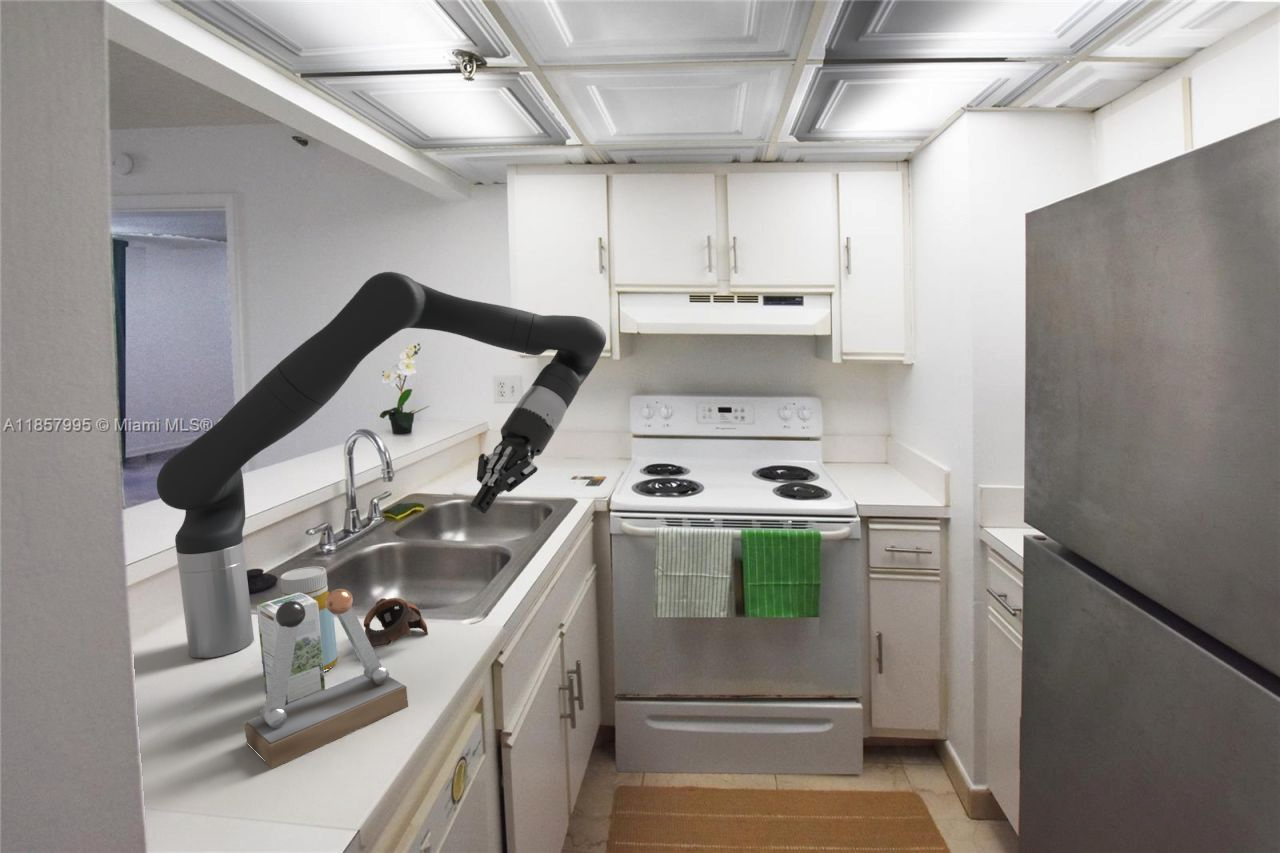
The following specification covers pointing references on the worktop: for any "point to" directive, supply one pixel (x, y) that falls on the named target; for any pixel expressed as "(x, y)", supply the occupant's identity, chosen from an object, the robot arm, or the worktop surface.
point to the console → (325, 718)
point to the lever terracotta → (356, 634)
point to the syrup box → (307, 647)
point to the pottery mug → (392, 621)
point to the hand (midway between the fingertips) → (477, 510)
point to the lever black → (282, 662)
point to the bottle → (315, 586)
